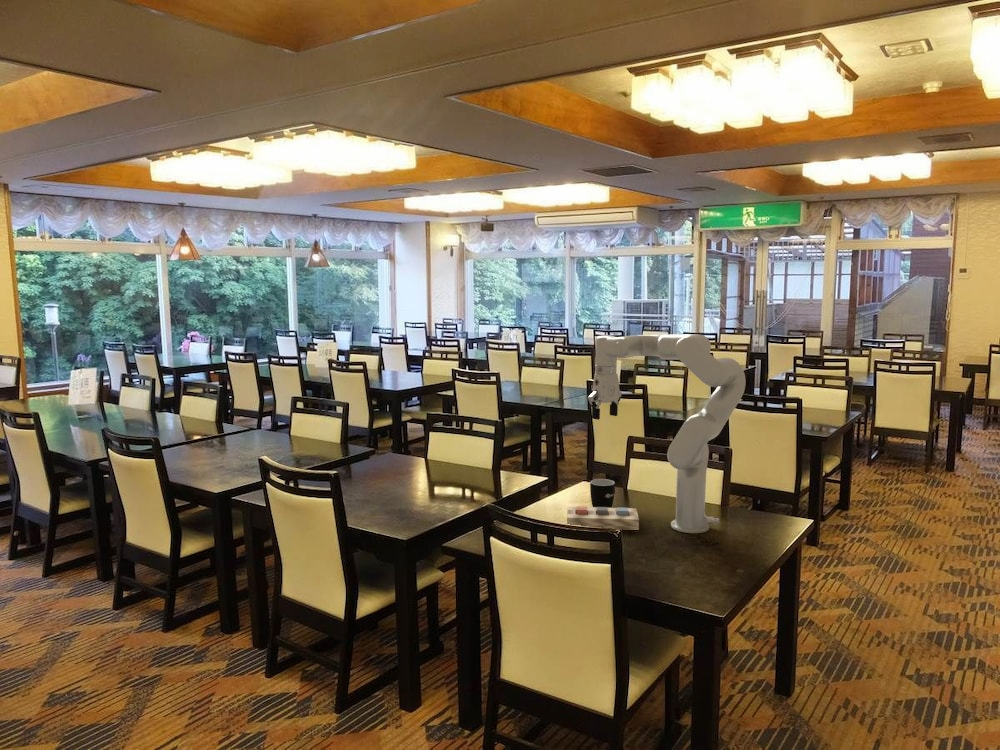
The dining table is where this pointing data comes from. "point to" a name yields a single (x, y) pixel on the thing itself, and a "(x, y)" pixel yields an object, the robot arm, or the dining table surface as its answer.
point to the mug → (602, 492)
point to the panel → (604, 519)
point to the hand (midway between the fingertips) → (604, 417)
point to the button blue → (622, 511)
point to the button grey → (602, 511)
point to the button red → (581, 510)
